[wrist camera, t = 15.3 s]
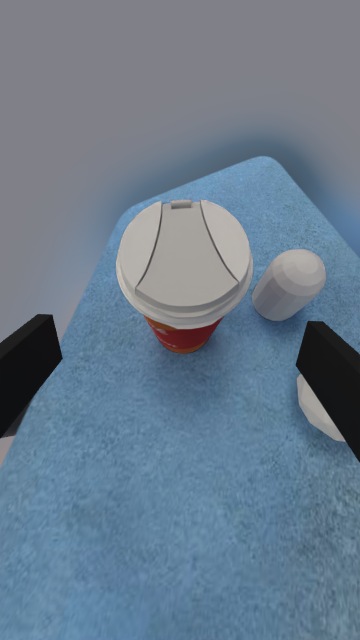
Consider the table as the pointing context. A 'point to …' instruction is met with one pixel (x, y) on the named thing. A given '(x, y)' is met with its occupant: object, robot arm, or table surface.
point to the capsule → (289, 284)
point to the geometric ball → (316, 410)
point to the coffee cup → (184, 269)
